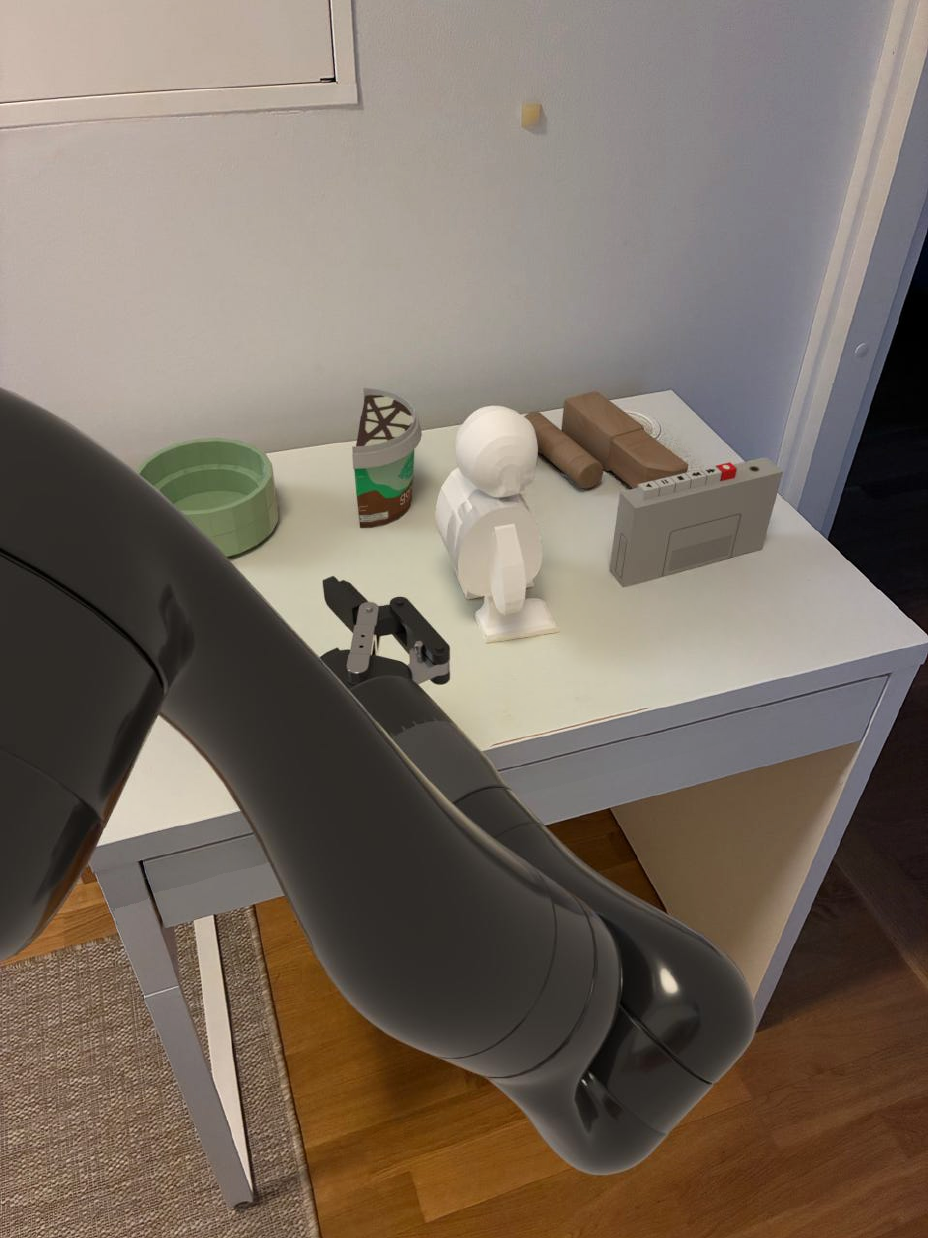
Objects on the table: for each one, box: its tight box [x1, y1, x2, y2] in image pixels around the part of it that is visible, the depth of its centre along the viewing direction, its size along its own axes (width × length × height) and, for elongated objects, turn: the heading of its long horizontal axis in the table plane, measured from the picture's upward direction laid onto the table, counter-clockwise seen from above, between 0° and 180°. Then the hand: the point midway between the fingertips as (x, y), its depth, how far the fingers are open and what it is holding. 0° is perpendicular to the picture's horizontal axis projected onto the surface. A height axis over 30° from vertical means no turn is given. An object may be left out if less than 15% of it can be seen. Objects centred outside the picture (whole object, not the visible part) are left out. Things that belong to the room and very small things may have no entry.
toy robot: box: [435, 405, 560, 644], centre depth 81 cm, size 14×9×20 cm, turn 16°
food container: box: [351, 387, 423, 529], centre depth 96 cm, size 12×6×10 cm, turn 179°
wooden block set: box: [523, 390, 689, 490], centre depth 101 cm, size 17×6×18 cm
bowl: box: [135, 437, 279, 558], centre depth 95 cm, size 13×13×6 cm
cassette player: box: [608, 456, 784, 588], centre depth 90 cm, size 16×3×10 cm, turn 113°
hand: (267, 613), depth 60 cm, fingers open, 8 cm apart
